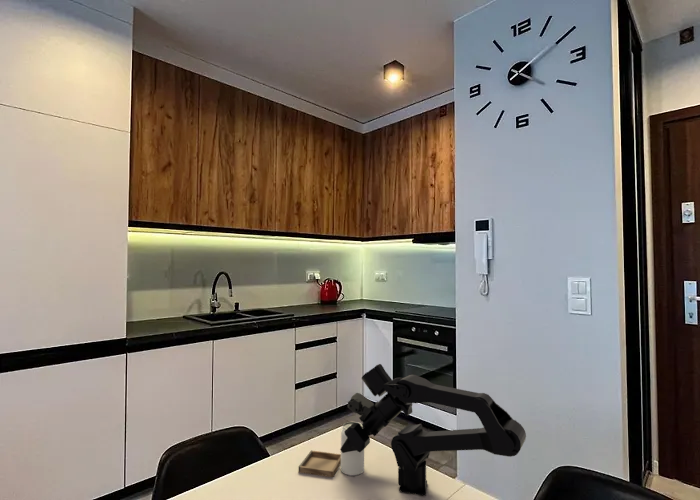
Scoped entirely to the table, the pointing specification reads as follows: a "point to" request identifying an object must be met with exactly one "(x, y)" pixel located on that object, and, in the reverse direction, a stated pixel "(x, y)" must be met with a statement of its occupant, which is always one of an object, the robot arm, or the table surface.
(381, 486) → the table surface
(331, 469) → the wooden tray
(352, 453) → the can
